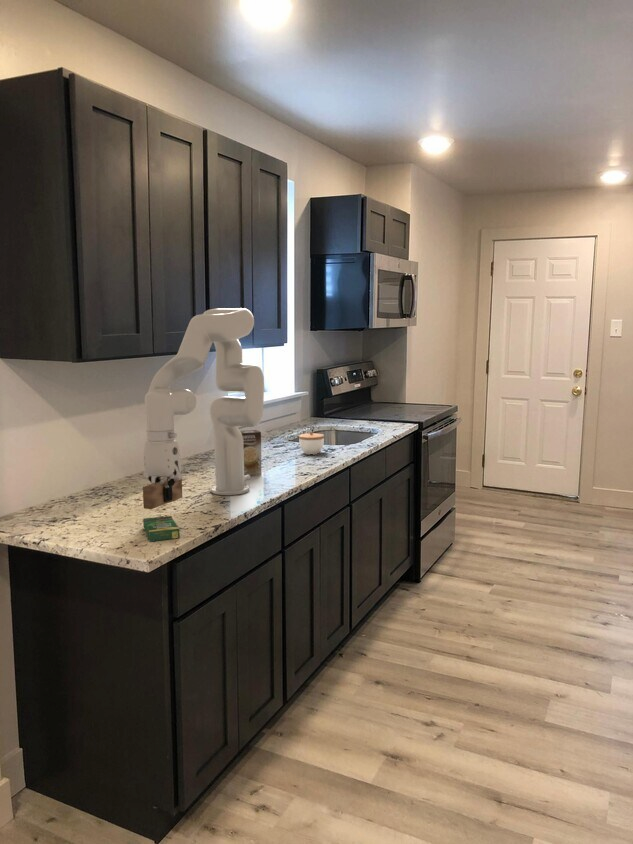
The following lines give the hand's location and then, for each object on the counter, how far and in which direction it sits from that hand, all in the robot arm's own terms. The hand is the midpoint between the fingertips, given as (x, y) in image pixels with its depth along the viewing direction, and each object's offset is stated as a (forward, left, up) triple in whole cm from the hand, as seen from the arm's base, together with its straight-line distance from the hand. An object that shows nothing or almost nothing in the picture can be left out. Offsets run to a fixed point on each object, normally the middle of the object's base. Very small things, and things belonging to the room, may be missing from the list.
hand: (163, 499), depth 191 cm
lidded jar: (-106, -6, -7) cm, 106 cm away
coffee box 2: (-61, -10, -7) cm, 62 cm away
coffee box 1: (+4, +1, -5) cm, 7 cm away
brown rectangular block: (0, 0, -1) cm, 1 cm away
